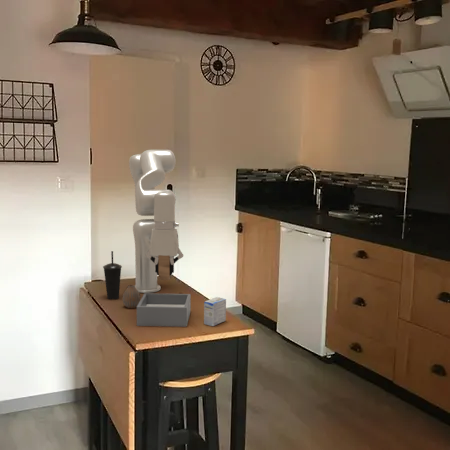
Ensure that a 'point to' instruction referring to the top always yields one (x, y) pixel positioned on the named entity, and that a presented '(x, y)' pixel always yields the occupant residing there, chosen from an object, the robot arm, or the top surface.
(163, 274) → the peg
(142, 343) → the top surface
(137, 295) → the vase
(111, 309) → the top surface
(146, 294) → the open box
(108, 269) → the drinking cup
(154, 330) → the top surface
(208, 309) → the medicine box
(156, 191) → the robot arm
